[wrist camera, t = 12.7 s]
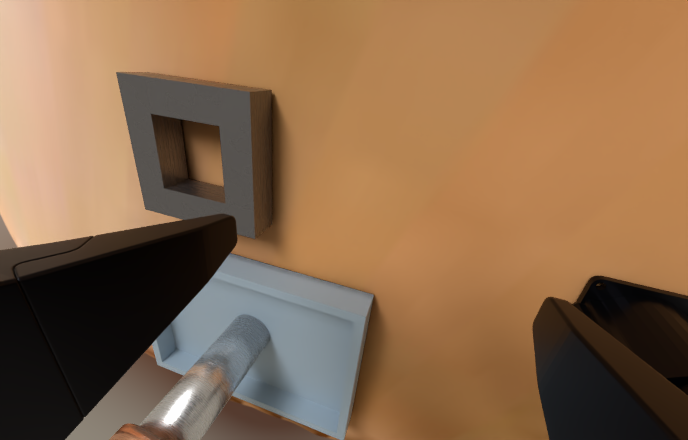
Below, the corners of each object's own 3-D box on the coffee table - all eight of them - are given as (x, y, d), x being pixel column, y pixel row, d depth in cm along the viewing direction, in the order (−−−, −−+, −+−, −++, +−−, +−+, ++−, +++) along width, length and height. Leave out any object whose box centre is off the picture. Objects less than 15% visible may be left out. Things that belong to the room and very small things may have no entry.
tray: (373, 294, 24) (366, 317, 22) (351, 415, 32) (343, 441, 29) (150, 230, 29) (125, 243, 27) (175, 347, 37) (157, 364, 34)
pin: (259, 304, 28) (141, 443, 18) (286, 351, 30) (193, 503, 19) (217, 311, 30) (92, 436, 20) (244, 353, 32) (141, 490, 22)
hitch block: (271, 90, 20) (249, 91, 18) (272, 224, 25) (254, 239, 22) (148, 72, 22) (116, 72, 20) (170, 198, 27) (145, 209, 25)
